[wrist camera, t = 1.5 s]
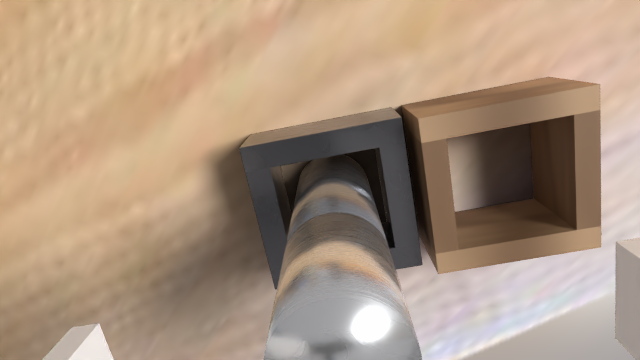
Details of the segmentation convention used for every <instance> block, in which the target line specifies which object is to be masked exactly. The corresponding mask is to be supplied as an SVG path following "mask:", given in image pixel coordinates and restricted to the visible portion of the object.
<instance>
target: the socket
mask: <svg viewBox="0 0 640 360" xmlns="http://www.w3.org/2000/svg"><path fill="white" fill-rule="evenodd" d="M373 148H375V154H376V160H377V166H378V172H379V178H380V184H381V191H382V197H383V203H384V209H385V215H386V221H387V222H386V223H381V224H382V227H383V231H384V234H385V237H386V240H387V243H388V247H389V250H390V253H391V256H392V260H393V263H394V266H395V269H401V268H407V267H413V266H419V265H422V259H421V252H420V245H419V238H418V231H417V224H416V217H415V210H414V202H413V195H412V188H411V181H410V174H409V167H408V160H407V153H406V146H405V139H404V131H403V124H402V117H401V116H400V115H399V114H398V113H397V112H396V111H395V110H393V109H392V108H391V107H390V108H385V109H380V110H375V111H369V112H364V113H359V114H354V115H349V116H343V117H338V118H333V119H328V120H323V121H317V122H312V123H307V124H302V125H297V126H291V127H286V128H281V129H276V130H271V131H266V132H260V133H255V134H251V135H250V136H249V137H248V138H247V139H246V141H245V142H244V143H243V144H242V145H241V146H240V148H239V150H240V153H241V157H242V161H243V165H244V169H245V173H246V177H247V181H248V185H249V189H250V193H251V196H252V200H253V204H254V208H255V212H256V216H257V220H258V224H259V228H260V232H261V236H262V239H263V243H264V247H265V251H266V255H267V259H268V263H269V267H270V271H271V275H272V278H273V282H274V286H275V289H277V287H278V282H279V277H280V272H281V267H282V262H283V257H284V252H285V247H286V242H287V237H288V232H289V227H290V222H291V217H292V213H291V209H290V205H289V200H288V196H287V192H286V187H285V183H284V179H283V174H282V170H281V166H282V165H287V164H293V163H298V162H303V161H309V160H314V159H319V158H325V157H330V156H335V155H341V154H346V153H352V152H357V151H362V150H368V149H373Z"/></svg>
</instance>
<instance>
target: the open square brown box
mask: <svg viewBox="0 0 640 360" xmlns="http://www.w3.org/2000/svg"><path fill="white" fill-rule="evenodd" d="M401 106H402V113H403V120H404V127H405V134H406V141H407V148H408V156H409V163H410V170H411V177H412V184H413V191H414V199H415V206H416V213H417V220H418V227H419V234H420V238H421V240H422V242H423V244H424V246H425V248H426V250H427V252H428V254H429V256H430V258H431V260H432V262H433V264H434V266H435V268H436V270H437V272H438V274H442V273H448V272H454V271H460V270H466V269H472V268H478V267H484V266H490V265H496V264H502V263H508V262H514V261H520V260H527V259H533V258H539V257H545V256H551V255H557V254H563V253H569V252H575V251H581V250H587V249H593V248H599V247H601V142H600V84H595V83H588V82H581V81H574V80H567V79H560V78H553V77H546V78H541V79H536V80H530V81H525V82H520V83H515V84H510V85H504V86H499V87H494V88H489V89H484V90H478V91H473V92H468V93H463V94H458V95H452V96H447V97H442V98H437V99H432V100H427V101H421V102H416V103H411V104H406V105H401ZM527 123H530V135H531V154H532V172H533V191H534V199H528V200H522V201H516V202H511V203H505V204H499V205H493V206H488V207H482V208H476V209H470V210H465V211H459V212H455V211H454V202H453V193H452V184H451V175H450V166H449V157H448V148H447V139H446V138H452V137H457V136H463V135H468V134H473V133H479V132H484V131H489V130H495V129H500V128H506V127H511V126H516V125H522V124H527Z"/></svg>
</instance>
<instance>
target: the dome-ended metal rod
mask: <svg viewBox="0 0 640 360" xmlns="http://www.w3.org/2000/svg"><path fill="white" fill-rule="evenodd" d="M264 360H422V356H421V351H420V347H419V343H418V340H417V337H416V334H415V331H414V327H413V324H412V321H411V318H410V314H409V311H408V308H407V305H406V302H405V298H404V295H403V292H402V289H401V285H400V282H399V279H398V276H397V272H396V269H395V266H394V263H393V260H392V256H391V253H390V250H389V247H388V243H387V240H386V237H385V234H384V231H383V227H382V224H381V221H380V218H379V214H378V211H377V208H376V205H375V202H374V198H373V195H372V192H371V189H370V185H369V182H368V179H367V176H366V173H365V172H364V170H363V168H362V167H361V166H360V165H359V164H358V163H357V162H356V161H355V160H354V159H352V158H350V157H348V156H345V155H342V154H341V155H335V156H330V157H325V158H319V159H314V160H312V161H311V162H309V163H308V164H307V165H306V167H305V168H304V169H303V171H302V173H301V175H300V178H299V182H298V187H297V192H296V197H295V202H294V207H293V212H292V217H291V222H290V227H289V232H288V237H287V242H286V247H285V252H284V257H283V262H282V267H281V272H280V277H279V282H278V287H277V292H276V297H275V302H274V307H273V312H272V317H271V322H270V327H269V332H268V337H267V342H266V347H265V352H264Z"/></svg>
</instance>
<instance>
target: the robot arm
mask: <svg viewBox="0 0 640 360" xmlns="http://www.w3.org/2000/svg"><path fill="white" fill-rule="evenodd" d="M615 317H616V318H615V324H616V325H615V333H616V334H615V338H616V339H617V340H618V341H619V342H620V343H621V344H622V345H623V347H624V348H625V349H626V350H627V351H628V352H629V353H630V354H631V355H632V356H633V357H634V358H635V359H636V360H640V238H636V239H630V240H623V241H617V242H616V311H615ZM42 360H114V359H113V357H112V354H111V352H110V349H109V347H108V344H107V342H106V339H105V337H104V334H103V332H102V329H101V327H100V324H99V323H96V324H90V325H84V326H77V327H72V328H71V329H70V330H69V331H68V332H67V333H66V334H65V335H64V336H63V337H62V339H61V340H60V341H59V342H58V343H57V344H56V345H55V346H54V347H53V348H52V349H51V350H50V352H49V353H48V354H47V355H46V356H45V357H44V358H43V359H42Z"/></svg>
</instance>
